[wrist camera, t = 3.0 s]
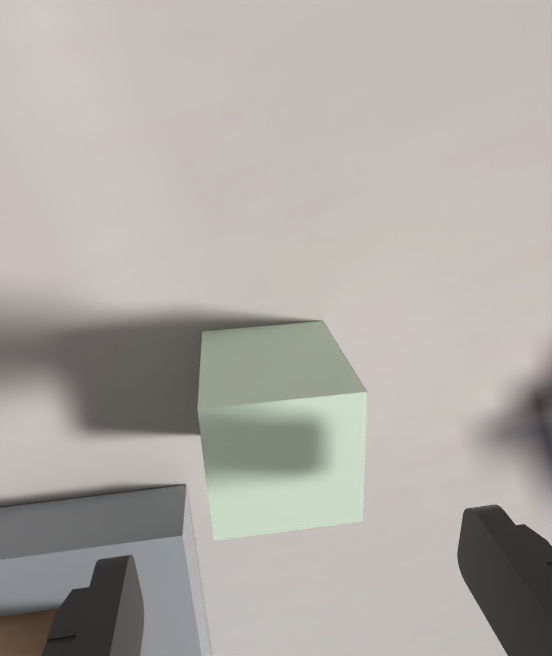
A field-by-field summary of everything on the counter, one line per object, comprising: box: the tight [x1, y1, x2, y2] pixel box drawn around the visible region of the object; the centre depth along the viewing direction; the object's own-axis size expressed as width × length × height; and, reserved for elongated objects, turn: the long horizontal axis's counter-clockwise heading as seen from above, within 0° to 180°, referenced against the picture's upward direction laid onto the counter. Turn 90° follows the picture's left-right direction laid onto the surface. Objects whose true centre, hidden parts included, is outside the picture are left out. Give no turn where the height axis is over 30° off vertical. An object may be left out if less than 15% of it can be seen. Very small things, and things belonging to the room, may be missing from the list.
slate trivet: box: [0, 485, 212, 656], centre depth 21 cm, size 12×12×3 cm
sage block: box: [197, 321, 367, 541], centre depth 17 cm, size 5×5×6 cm
